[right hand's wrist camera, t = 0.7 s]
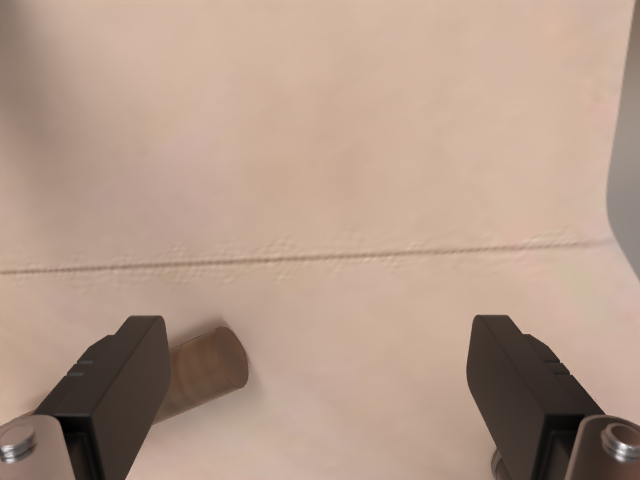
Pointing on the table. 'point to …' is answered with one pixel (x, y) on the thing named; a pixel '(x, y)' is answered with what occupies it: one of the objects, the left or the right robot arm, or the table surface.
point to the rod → (202, 372)
